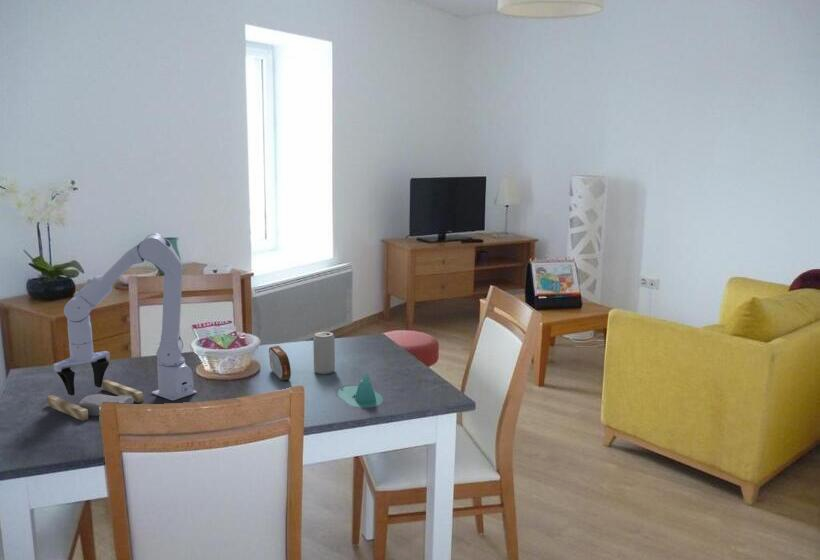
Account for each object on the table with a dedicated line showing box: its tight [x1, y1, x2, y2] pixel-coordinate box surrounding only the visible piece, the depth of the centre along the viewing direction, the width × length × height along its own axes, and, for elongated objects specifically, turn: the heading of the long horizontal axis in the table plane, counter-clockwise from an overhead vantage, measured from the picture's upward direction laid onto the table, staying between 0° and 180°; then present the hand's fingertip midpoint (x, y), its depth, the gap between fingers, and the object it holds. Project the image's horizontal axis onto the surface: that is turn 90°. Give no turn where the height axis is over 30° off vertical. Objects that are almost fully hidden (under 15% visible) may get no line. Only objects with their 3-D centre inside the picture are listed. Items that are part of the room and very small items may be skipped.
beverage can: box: [312, 331, 336, 375], centre depth 211 cm, size 6×6×12 cm
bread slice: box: [268, 345, 292, 381], centre depth 207 cm, size 15×3×8 cm, turn 26°
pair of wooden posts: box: [46, 379, 144, 422], centre depth 184 cm, size 17×17×2 cm
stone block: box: [77, 393, 135, 417], centre depth 180 cm, size 12×5×10 cm
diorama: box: [337, 371, 384, 409], centre depth 191 cm, size 12×20×9 cm, turn 27°
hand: (84, 390), depth 187 cm, fingers open, 7 cm apart
